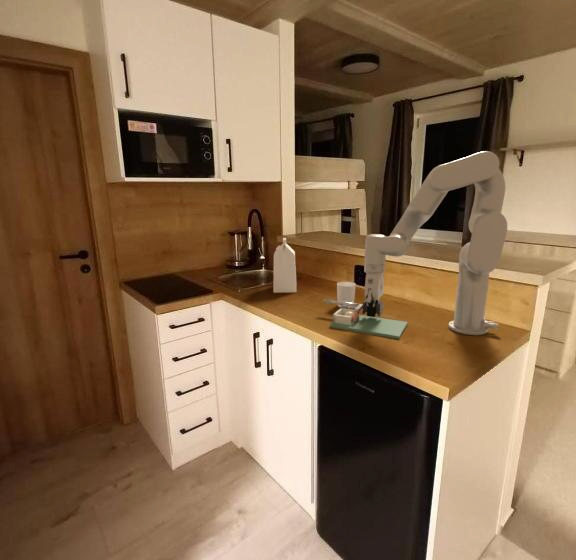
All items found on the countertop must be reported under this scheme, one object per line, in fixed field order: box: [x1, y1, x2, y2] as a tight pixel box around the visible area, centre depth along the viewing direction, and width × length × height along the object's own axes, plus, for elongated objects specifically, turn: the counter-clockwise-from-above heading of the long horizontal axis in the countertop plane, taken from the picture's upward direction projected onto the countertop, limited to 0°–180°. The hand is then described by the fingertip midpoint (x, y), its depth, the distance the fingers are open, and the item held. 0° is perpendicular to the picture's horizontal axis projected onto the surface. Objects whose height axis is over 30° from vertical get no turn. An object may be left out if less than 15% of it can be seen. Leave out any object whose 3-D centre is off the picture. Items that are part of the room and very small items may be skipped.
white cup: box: [336, 281, 357, 309], centre depth 155 cm, size 8×8×10 cm
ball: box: [345, 311, 353, 320], centre depth 136 cm, size 4×4×4 cm
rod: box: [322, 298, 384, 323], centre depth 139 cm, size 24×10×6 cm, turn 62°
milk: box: [272, 237, 298, 294], centre depth 181 cm, size 12×12×26 cm
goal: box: [332, 307, 355, 325], centre depth 136 cm, size 7×9×3 cm
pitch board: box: [329, 305, 409, 340], centre depth 133 cm, size 25×15×4 cm, turn 62°
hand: (372, 314), depth 138 cm, fingers closed on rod, 3 cm apart
